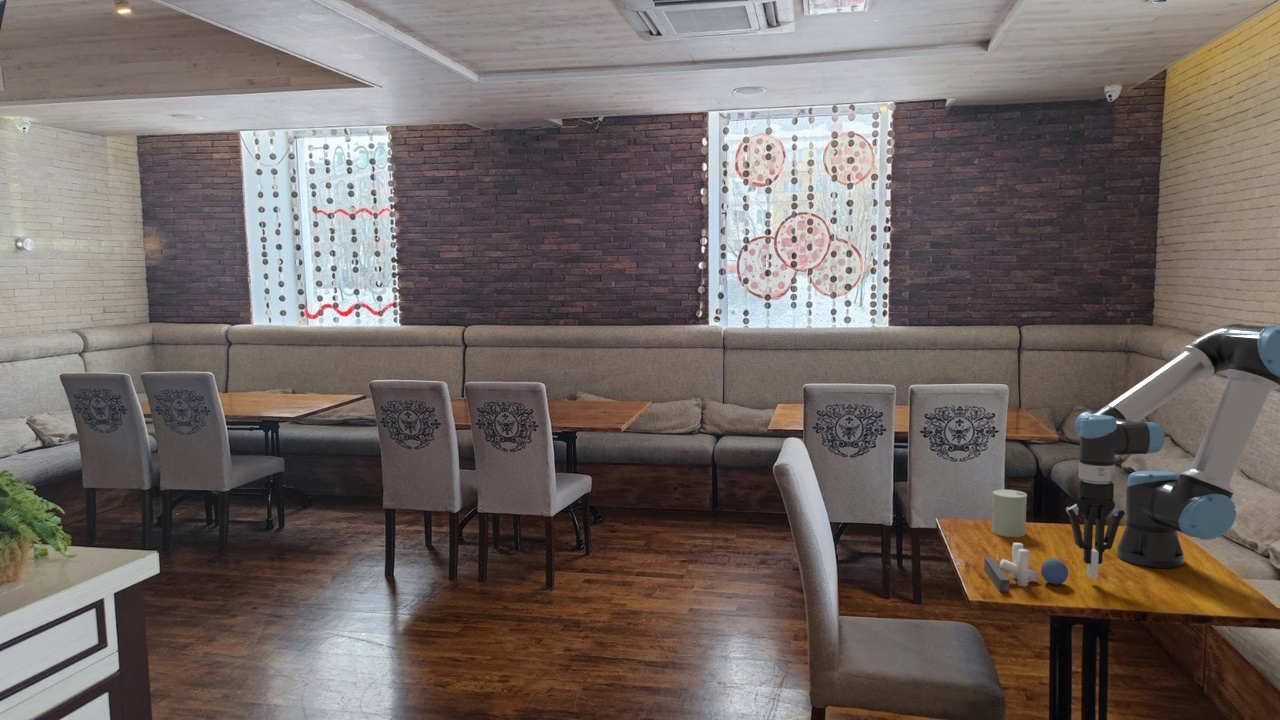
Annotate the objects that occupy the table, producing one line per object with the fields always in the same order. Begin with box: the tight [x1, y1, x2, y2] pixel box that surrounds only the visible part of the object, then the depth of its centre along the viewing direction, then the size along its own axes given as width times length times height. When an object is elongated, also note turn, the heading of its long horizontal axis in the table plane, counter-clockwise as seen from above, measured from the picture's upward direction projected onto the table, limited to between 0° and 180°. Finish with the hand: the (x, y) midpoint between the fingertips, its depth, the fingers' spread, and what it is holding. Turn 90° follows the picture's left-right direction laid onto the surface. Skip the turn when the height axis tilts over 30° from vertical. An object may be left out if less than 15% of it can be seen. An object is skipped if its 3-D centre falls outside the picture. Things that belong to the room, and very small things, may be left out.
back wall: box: [983, 557, 1010, 593], centre depth 216 cm, size 2×16×3 cm, turn 171°
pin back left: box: [1016, 548, 1030, 588], centre depth 212 cm, size 2×2×8 cm
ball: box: [1040, 558, 1069, 585], centre depth 213 cm, size 6×6×6 cm
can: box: [991, 489, 1028, 538], centre depth 254 cm, size 9×9×12 cm
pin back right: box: [1011, 542, 1024, 580], centre depth 217 cm, size 2×2×8 cm
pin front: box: [999, 558, 1039, 583], centre depth 215 cm, size 2×2×8 cm
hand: (1092, 576), depth 213 cm, fingers closed
